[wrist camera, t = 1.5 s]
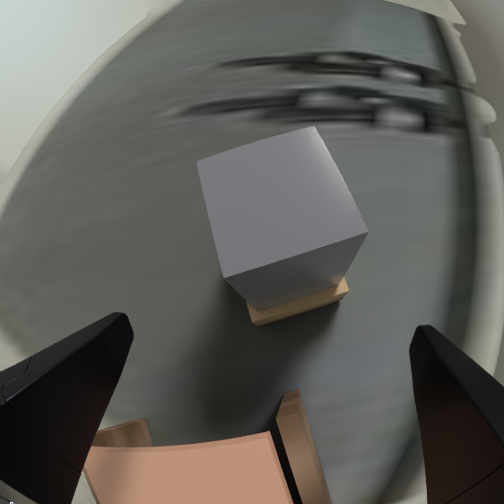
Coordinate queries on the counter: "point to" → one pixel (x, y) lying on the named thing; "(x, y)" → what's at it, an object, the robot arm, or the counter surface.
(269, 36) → the counter surface
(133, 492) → the terracotta flap
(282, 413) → the walnut frame
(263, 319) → the oak plinth
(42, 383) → the robot arm
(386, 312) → the counter surface
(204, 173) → the granite block
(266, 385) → the counter surface
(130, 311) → the counter surface
